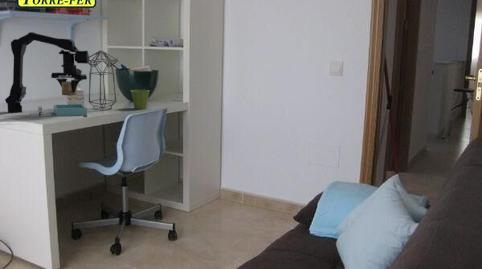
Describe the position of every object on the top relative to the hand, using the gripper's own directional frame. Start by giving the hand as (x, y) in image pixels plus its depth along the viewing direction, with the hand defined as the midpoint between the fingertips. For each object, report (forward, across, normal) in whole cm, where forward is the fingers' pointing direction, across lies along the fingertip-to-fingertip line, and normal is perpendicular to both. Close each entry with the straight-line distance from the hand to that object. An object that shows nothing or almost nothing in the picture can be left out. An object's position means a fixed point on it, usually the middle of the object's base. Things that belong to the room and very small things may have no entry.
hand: (69, 92), depth 258 cm
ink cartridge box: (+13, +13, -23) cm, 29 cm away
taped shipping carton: (+2, 0, 0) cm, 2 cm away
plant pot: (+13, -18, -45) cm, 50 cm away
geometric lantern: (+13, -1, -29) cm, 32 cm away
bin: (+13, 0, 0) cm, 13 cm away
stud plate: (+13, +10, +10) cm, 19 cm away
